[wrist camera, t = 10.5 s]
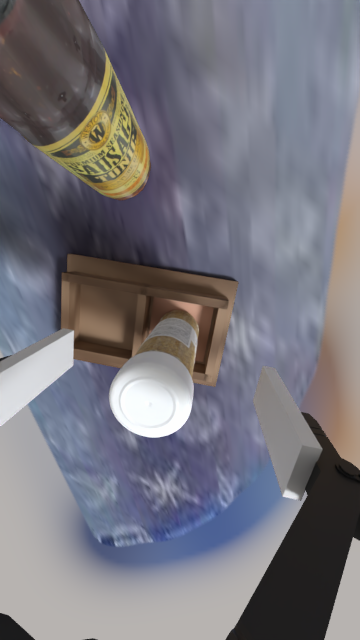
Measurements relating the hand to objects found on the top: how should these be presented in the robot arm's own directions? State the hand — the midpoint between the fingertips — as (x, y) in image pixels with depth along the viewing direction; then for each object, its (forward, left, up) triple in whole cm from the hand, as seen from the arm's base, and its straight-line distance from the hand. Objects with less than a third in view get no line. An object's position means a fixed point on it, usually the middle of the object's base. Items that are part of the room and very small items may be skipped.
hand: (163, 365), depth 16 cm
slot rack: (0, -4, -10) cm, 11 cm away
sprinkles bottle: (0, 0, -10) cm, 10 cm away
